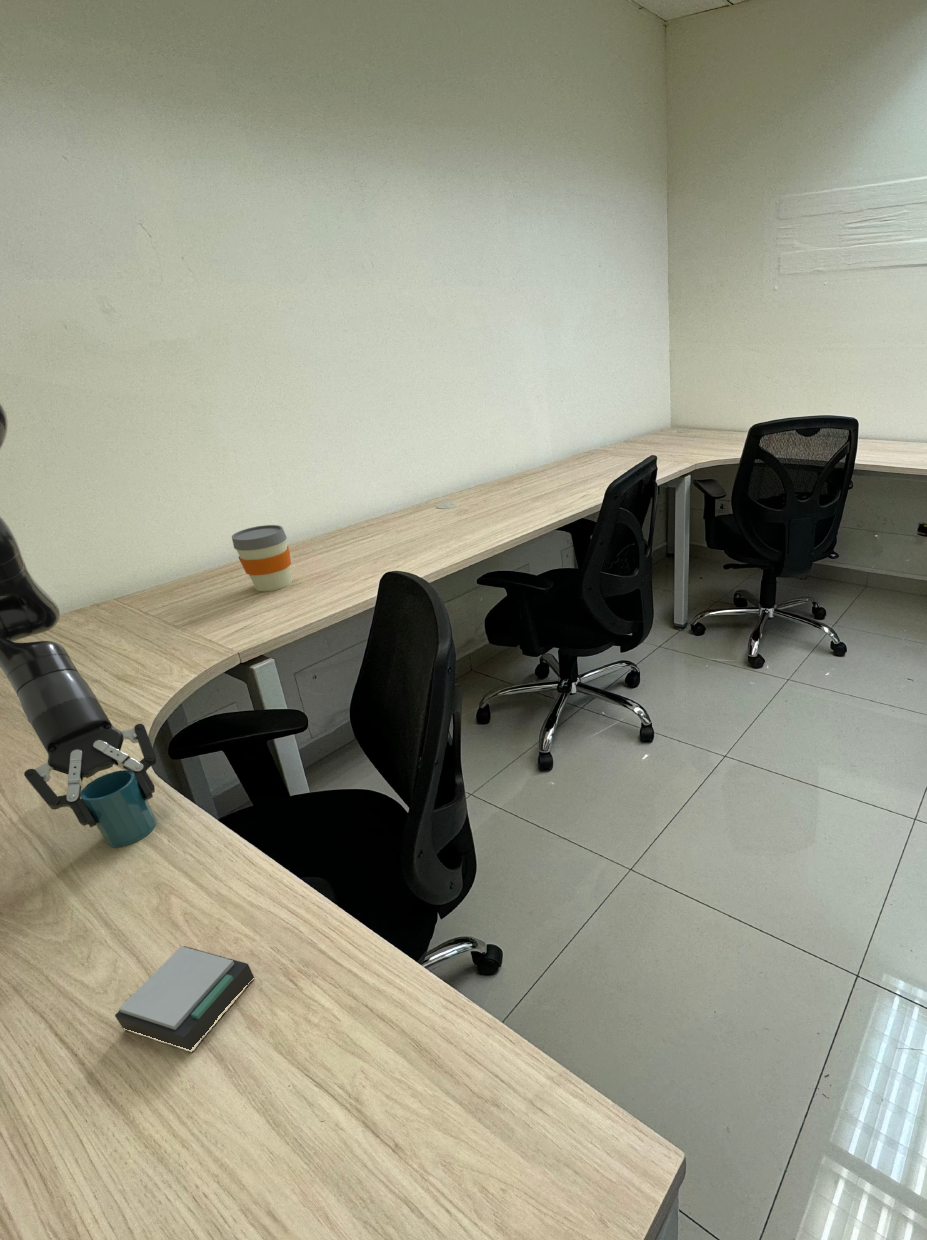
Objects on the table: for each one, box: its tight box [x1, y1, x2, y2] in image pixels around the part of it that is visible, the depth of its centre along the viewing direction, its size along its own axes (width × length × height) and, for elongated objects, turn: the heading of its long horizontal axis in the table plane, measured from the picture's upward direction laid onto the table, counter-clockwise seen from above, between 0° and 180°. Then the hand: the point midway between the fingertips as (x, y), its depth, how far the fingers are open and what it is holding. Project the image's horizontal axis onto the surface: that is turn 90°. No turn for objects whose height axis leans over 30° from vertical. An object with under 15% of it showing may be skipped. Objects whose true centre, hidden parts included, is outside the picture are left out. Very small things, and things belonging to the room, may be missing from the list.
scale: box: [114, 945, 255, 1050], centre depth 67 cm, size 9×8×3 cm
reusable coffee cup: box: [231, 524, 293, 592], centre depth 172 cm, size 13×12×15 cm
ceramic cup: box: [80, 769, 158, 848], centre depth 90 cm, size 6×6×8 cm
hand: (122, 810), depth 89 cm, fingers closed on ceramic cup, 6 cm apart
